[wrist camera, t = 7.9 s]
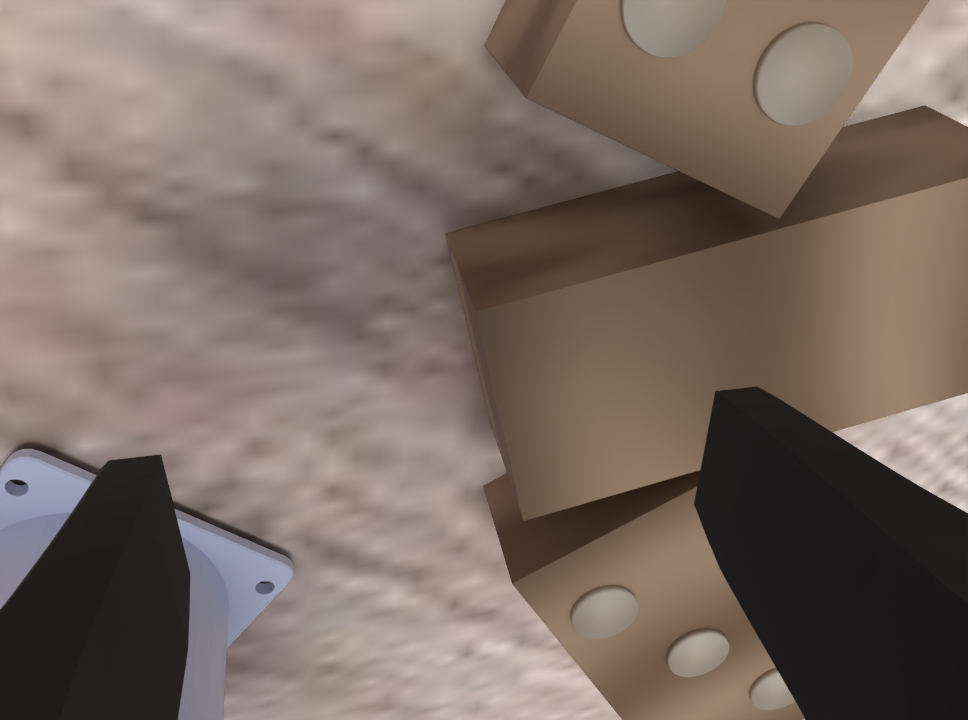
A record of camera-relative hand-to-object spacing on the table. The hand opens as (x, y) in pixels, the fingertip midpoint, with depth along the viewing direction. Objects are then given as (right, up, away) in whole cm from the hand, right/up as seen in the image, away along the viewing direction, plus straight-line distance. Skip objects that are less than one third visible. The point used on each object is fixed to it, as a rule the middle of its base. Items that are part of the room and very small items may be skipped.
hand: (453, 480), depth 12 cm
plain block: (+6, +4, +11) cm, 13 cm away
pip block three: (+6, -4, +17) cm, 18 cm away
